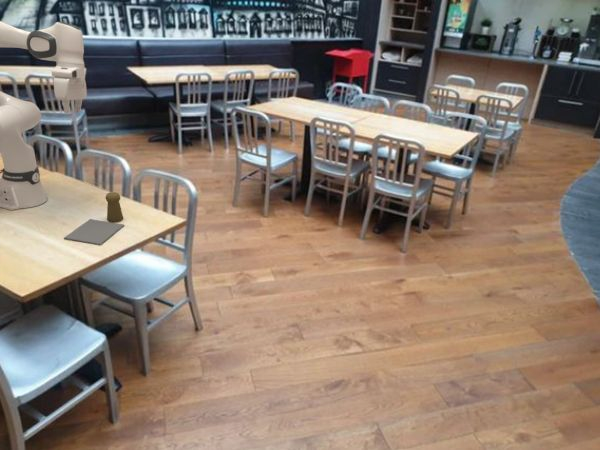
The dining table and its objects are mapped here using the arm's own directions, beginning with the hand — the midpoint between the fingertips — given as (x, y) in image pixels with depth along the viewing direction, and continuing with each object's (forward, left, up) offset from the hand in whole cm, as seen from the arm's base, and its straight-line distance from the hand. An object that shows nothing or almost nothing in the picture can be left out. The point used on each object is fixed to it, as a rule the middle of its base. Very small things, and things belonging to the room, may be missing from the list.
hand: (72, 112), depth 165 cm
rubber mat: (+13, -14, -39) cm, 44 cm away
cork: (+14, -2, -40) cm, 42 cm away
